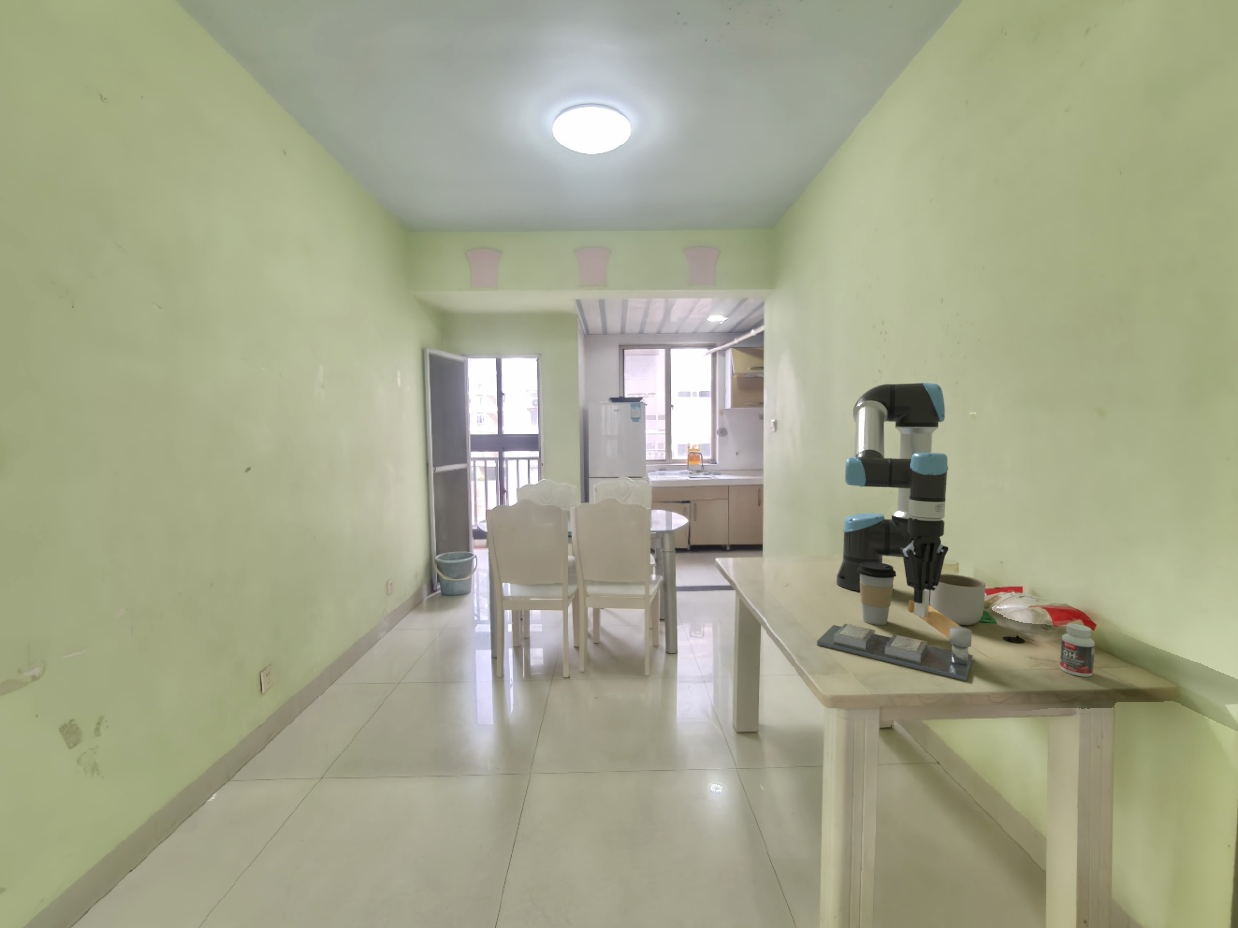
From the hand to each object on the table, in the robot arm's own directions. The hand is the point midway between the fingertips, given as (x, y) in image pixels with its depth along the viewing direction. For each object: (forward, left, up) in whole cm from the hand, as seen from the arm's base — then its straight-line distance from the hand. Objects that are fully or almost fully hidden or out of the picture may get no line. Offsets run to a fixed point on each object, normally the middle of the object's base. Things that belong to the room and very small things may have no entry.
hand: (921, 615), depth 131 cm
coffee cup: (-9, -12, -7) cm, 16 cm away
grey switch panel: (+10, -4, -7) cm, 13 cm away
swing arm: (+2, +4, -2) cm, 5 cm away
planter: (-23, +5, -7) cm, 24 cm away
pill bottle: (-3, +29, -7) cm, 30 cm away
